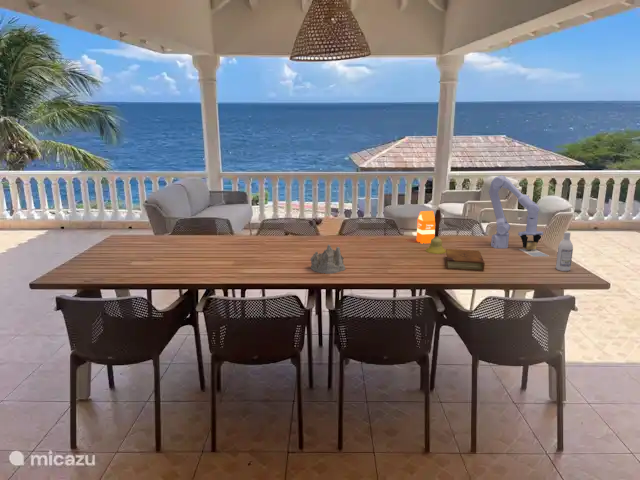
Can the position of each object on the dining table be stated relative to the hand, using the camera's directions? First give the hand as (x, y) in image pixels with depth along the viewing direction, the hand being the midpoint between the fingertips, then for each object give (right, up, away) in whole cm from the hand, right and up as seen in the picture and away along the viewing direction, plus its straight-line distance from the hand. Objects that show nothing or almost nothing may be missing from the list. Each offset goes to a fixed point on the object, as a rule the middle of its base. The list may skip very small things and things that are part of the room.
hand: (529, 247), depth 298 cm
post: (0, -3, +1) cm, 3 cm away
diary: (-46, -10, -24) cm, 53 cm away
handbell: (-55, -3, +2) cm, 55 cm away
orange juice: (-57, +3, +24) cm, 62 cm away
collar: (0, -1, 0) cm, 1 cm away
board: (+1, -4, -4) cm, 6 cm away
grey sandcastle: (-120, -11, -34) cm, 125 cm away
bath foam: (+4, -11, -34) cm, 36 cm away
